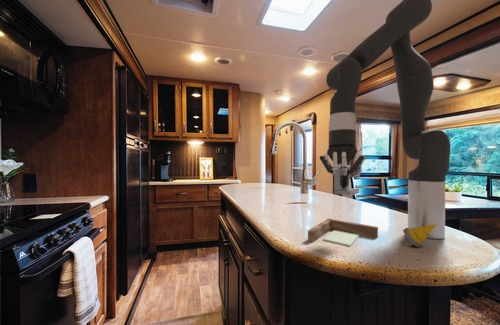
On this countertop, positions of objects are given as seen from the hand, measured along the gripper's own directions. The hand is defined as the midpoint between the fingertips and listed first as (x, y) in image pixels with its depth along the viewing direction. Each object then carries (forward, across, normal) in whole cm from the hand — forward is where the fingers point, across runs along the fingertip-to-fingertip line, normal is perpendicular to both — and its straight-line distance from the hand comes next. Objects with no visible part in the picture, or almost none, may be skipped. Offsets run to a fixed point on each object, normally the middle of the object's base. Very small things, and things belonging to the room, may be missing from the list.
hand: (341, 187), depth 65 cm
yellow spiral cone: (+15, -18, -9) cm, 25 cm away
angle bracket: (+2, -2, 0) cm, 2 cm away
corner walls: (+15, -1, -1) cm, 15 cm away
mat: (+15, 0, -1) cm, 15 cm away
